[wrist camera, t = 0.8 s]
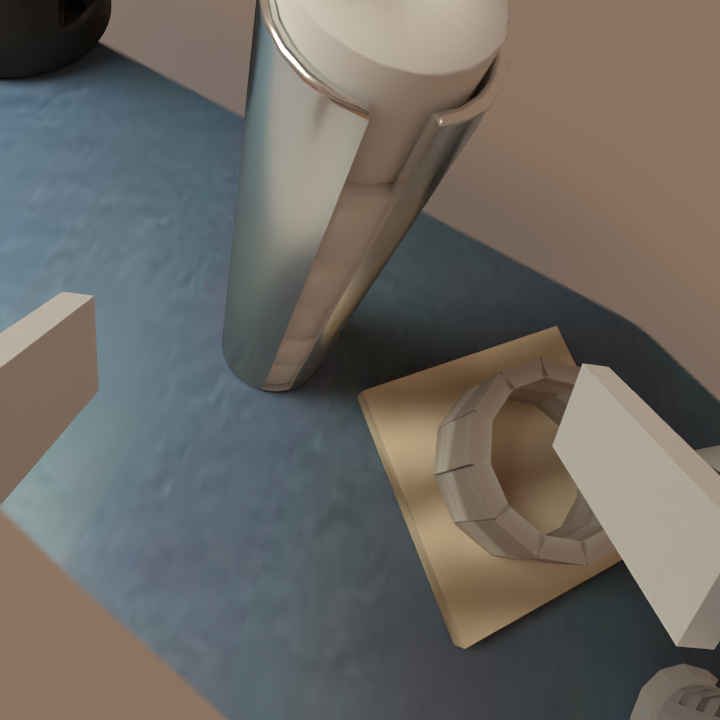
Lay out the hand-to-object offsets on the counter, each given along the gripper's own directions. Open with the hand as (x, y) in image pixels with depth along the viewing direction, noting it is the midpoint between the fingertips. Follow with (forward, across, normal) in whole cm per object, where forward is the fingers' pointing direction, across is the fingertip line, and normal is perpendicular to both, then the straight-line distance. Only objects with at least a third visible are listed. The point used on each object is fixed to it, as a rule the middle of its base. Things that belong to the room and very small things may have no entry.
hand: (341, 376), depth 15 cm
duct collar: (+17, +13, -14) cm, 25 cm away
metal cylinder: (+19, -3, -8) cm, 21 cm away
